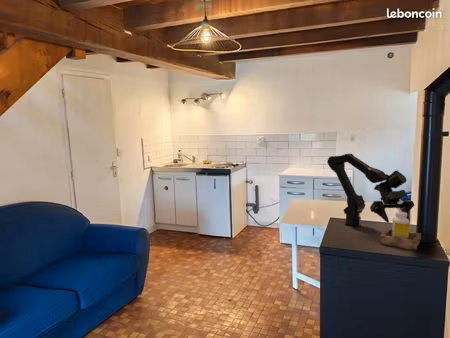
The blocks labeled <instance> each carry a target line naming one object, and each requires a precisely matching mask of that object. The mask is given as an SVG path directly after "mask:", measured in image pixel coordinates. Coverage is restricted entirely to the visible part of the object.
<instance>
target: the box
mask: <svg viewBox="0 0 450 338" xmlns="http://www.w3.org/2000/svg"><path fill="white" fill-rule="evenodd" d="M420 240H422V233H421V232H415V231H414V232H413V231H409V237H408V239H404V238H398V237H392V228H386V229H385V230H384V231H383V233H381V234H380V245H384V246H390V247H396V248H401V249H406V250H412V251H417V249H418V248H419V246H420V244H421V242H420ZM419 243H420V244H419ZM418 245H419V246H418Z"/></svg>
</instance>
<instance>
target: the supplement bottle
mask: <svg viewBox="0 0 450 338" xmlns="http://www.w3.org/2000/svg"><path fill="white" fill-rule="evenodd" d="M394 213H395V214H394V215H395V217H393V218H392V225H391V229H392V237H398V238H404V239H408V237H409V232H410V219H409V220H408V219H407V218H406V217H407V213H406V212H402V211H395V212H394Z"/></svg>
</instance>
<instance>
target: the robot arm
mask: <svg viewBox="0 0 450 338" xmlns="http://www.w3.org/2000/svg"><path fill="white" fill-rule="evenodd" d="M346 163H348V164H349V165H351V166H352V167H354V168H355V169H356V170H358V171H359V172H361V173H363V174H364V175H365V178H366V179H367V180H368V181H369V182H370V183H372V184H375V186H374V188H373V190H375V191H377V192H379V194H380V200H373V202H372V203H371V204H370V206H369V209H370V212H371V213H374V214H376V215H377V216H379V217H380V218H381V219H382V220H384V221H385V222H386V224H389V223H390V220H389V217H388V214H387V212H386V209H400V212H406V213H407V217H406V218H407V219H408V220H409V221H410V211H411V210H412V209H413V207H414V206H415V203H414V201H413V200H403V201H402V203H400V202H401V199H404V198H405V197H407V192H406V190H405V189H400V190H393V189H398V188H400V187H401V186H402V185H404V184H405V183H406V182H407V181H408V180H407V177H406V176H405V175H404V174H403V173H401V172H400V171H399V170H394V171H393V172H392V173H391V174H387V173H385V172H384V171H383V170H381V169H378V168H376V167H372V166H371V165H368V164H367V163H365V162H364V161H362V160H361V159H359V157H356V156H355V155H354V154H353V153H344V154H342V155H332V156H329V157H328V159H327V164H328V166H329V169H331V171H333V172H334V173H335V175H336V176H337V179H338V181H339V182H340V185H341V187H342V190H343V191H344V194H345V196H346V204H347V206H346V207H345V208H344V209H343V213H344V214H345V223H344V226H348V227H349V226H350V227H355V228H357V227H359V226H360V225H361V222H362V221H361V219H362V217H361V216H360V215H361V214H362V212H363V211H364V209H365V208H366V201H365V200H364V197H363V195H362V194H360V195H359V194H357V192H356V190H355V188H354V186H353V184H352V182H351V179H350V178H349V177H348V176H349V175H348V174H347V171H346V169H345V168H346V167H345V164H346ZM377 183H378V184H377Z"/></svg>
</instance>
